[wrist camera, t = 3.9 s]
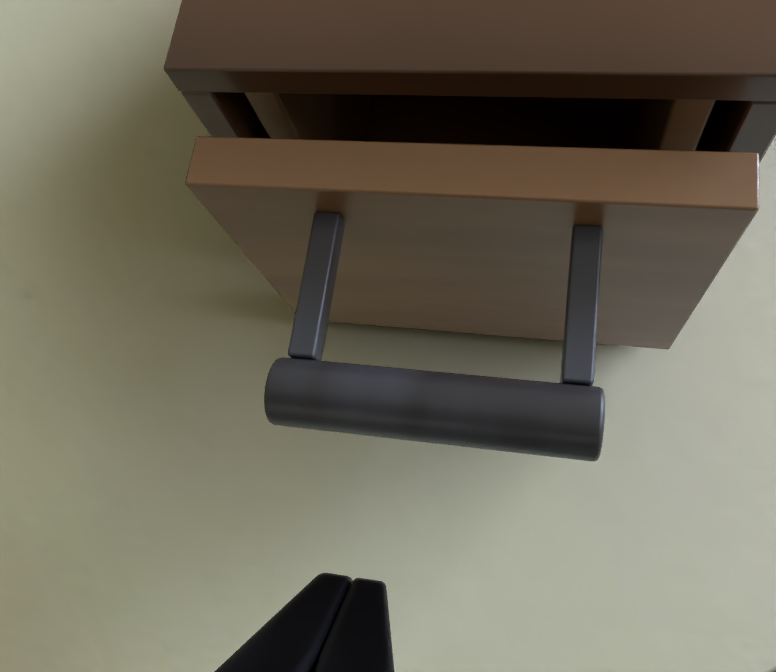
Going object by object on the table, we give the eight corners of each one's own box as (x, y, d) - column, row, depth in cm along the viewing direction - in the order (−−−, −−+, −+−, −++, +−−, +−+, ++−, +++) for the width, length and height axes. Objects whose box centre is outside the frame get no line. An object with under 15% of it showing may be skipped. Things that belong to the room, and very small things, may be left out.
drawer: (663, 512, 20) (761, 468, 12) (273, 463, 23) (130, 398, 14) (680, 1, 25) (758, -279, 17) (358, 5, 27) (288, -240, 19)
